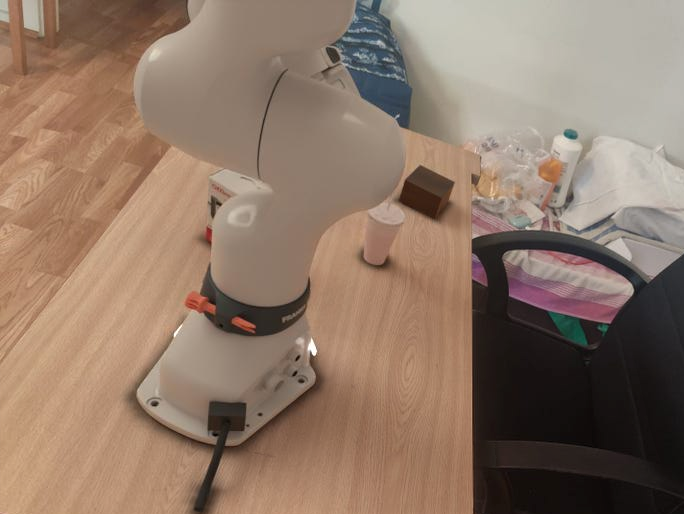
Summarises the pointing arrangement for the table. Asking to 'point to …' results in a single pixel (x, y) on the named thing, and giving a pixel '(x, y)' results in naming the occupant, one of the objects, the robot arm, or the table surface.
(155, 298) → the table surface
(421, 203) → the block
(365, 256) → the smoothie
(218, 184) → the ink box
